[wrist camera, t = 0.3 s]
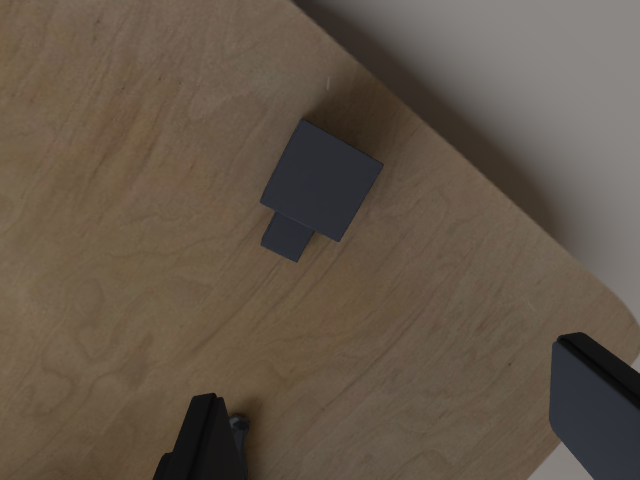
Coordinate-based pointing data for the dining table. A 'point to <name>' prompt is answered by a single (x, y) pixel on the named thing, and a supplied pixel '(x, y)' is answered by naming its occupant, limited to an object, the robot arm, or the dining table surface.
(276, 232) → the pad
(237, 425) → the knife
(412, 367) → the dining table surface
